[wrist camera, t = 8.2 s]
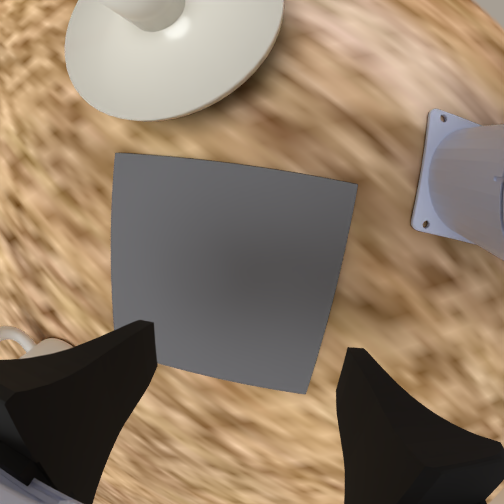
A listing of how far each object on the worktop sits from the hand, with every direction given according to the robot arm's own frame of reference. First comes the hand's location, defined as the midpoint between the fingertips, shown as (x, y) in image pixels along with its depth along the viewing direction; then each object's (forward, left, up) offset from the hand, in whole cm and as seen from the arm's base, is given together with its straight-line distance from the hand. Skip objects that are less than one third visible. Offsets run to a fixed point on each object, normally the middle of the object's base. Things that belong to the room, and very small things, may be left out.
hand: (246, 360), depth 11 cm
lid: (+8, -15, -6) cm, 18 cm away
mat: (+4, +2, -10) cm, 11 cm away
